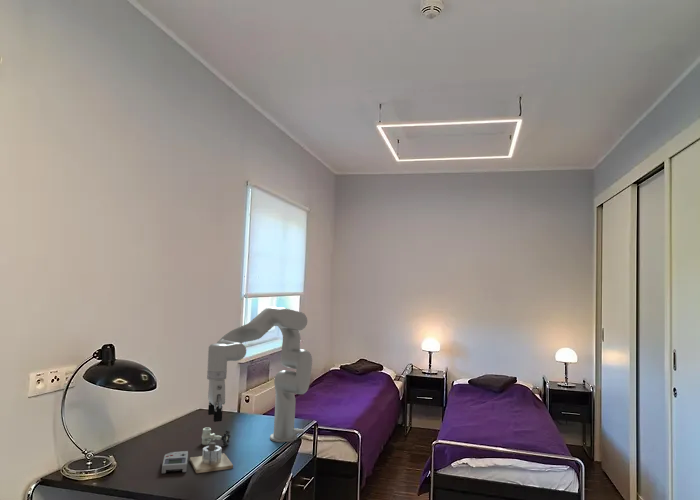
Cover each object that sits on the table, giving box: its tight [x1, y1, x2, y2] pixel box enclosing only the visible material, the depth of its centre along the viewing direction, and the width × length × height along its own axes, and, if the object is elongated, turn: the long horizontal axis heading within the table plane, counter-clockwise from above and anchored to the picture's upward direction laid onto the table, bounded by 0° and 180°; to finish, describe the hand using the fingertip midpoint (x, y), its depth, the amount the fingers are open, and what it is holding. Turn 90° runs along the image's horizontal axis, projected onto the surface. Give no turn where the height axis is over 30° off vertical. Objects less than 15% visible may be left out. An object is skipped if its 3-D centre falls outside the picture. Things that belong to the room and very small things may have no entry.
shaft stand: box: [189, 441, 234, 474], centre depth 194 cm, size 14×14×8 cm
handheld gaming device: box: [161, 450, 189, 475], centre depth 190 cm, size 9×15×4 cm, turn 16°
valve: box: [201, 427, 231, 447], centre depth 217 cm, size 7×7×12 cm
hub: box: [201, 445, 223, 465], centre depth 194 cm, size 7×7×5 cm
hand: (214, 417), depth 195 cm, fingers open, 9 cm apart
